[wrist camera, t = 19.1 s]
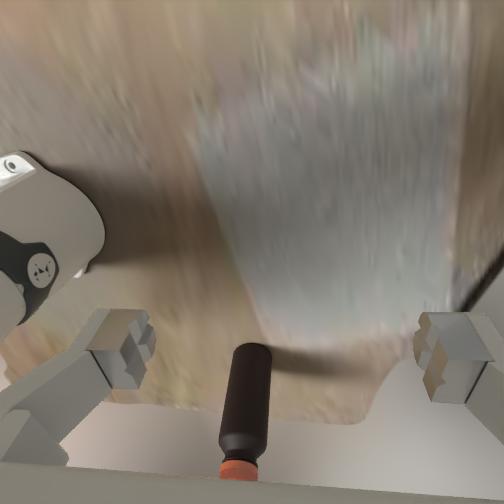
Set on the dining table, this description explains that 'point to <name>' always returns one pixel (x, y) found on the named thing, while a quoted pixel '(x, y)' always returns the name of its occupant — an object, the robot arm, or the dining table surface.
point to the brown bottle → (246, 412)
